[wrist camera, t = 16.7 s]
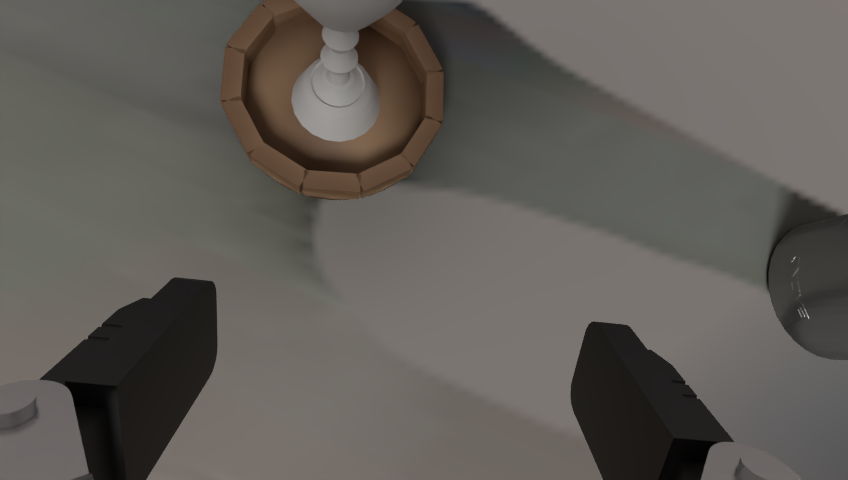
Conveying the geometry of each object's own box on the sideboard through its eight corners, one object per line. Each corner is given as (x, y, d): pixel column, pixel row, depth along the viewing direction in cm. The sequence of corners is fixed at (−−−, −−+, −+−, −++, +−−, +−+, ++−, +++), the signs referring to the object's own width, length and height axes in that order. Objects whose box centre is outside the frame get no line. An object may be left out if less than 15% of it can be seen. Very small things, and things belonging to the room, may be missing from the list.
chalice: (394, 47, 31) (487, -323, 13) (403, 154, 30) (519, -94, 12) (268, 44, 29) (188, -375, 12) (273, 158, 28) (195, -120, 11)
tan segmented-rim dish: (437, 22, 32) (444, 1, 30) (434, 206, 30) (442, 197, 28) (238, -4, 30) (232, -28, 28) (220, 192, 28) (212, 181, 26)
